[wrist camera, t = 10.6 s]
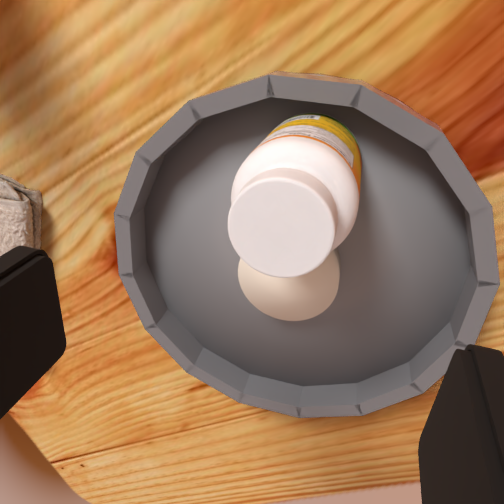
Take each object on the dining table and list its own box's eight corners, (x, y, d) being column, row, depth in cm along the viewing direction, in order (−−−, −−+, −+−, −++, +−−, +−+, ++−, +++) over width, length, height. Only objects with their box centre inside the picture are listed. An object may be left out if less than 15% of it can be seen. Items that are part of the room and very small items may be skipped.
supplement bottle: (323, 224, 25) (299, 319, 17) (247, 172, 25) (185, 243, 17) (383, 148, 23) (390, 218, 14) (299, 89, 22) (255, 125, 14)
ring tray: (548, 98, 21) (573, 108, 18) (425, 416, 31) (430, 451, 29) (129, 52, 25) (101, 55, 22) (144, 348, 35) (126, 374, 33)
